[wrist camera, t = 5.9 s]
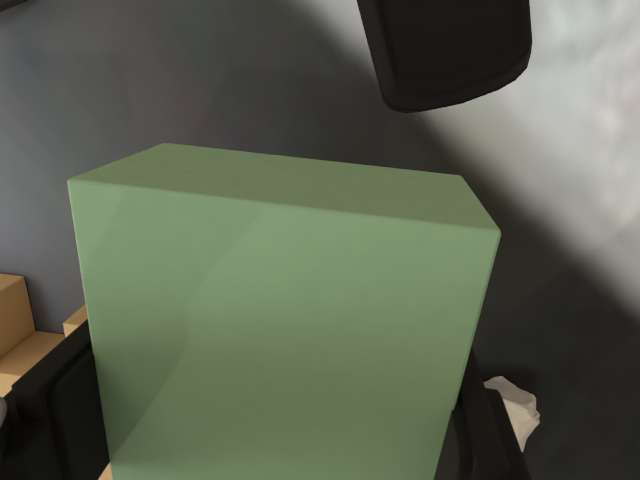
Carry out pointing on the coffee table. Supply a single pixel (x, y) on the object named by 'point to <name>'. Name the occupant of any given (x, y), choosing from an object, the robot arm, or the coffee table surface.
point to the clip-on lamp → (9, 4)
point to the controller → (445, 49)
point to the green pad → (277, 312)
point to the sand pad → (26, 336)
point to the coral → (517, 407)
